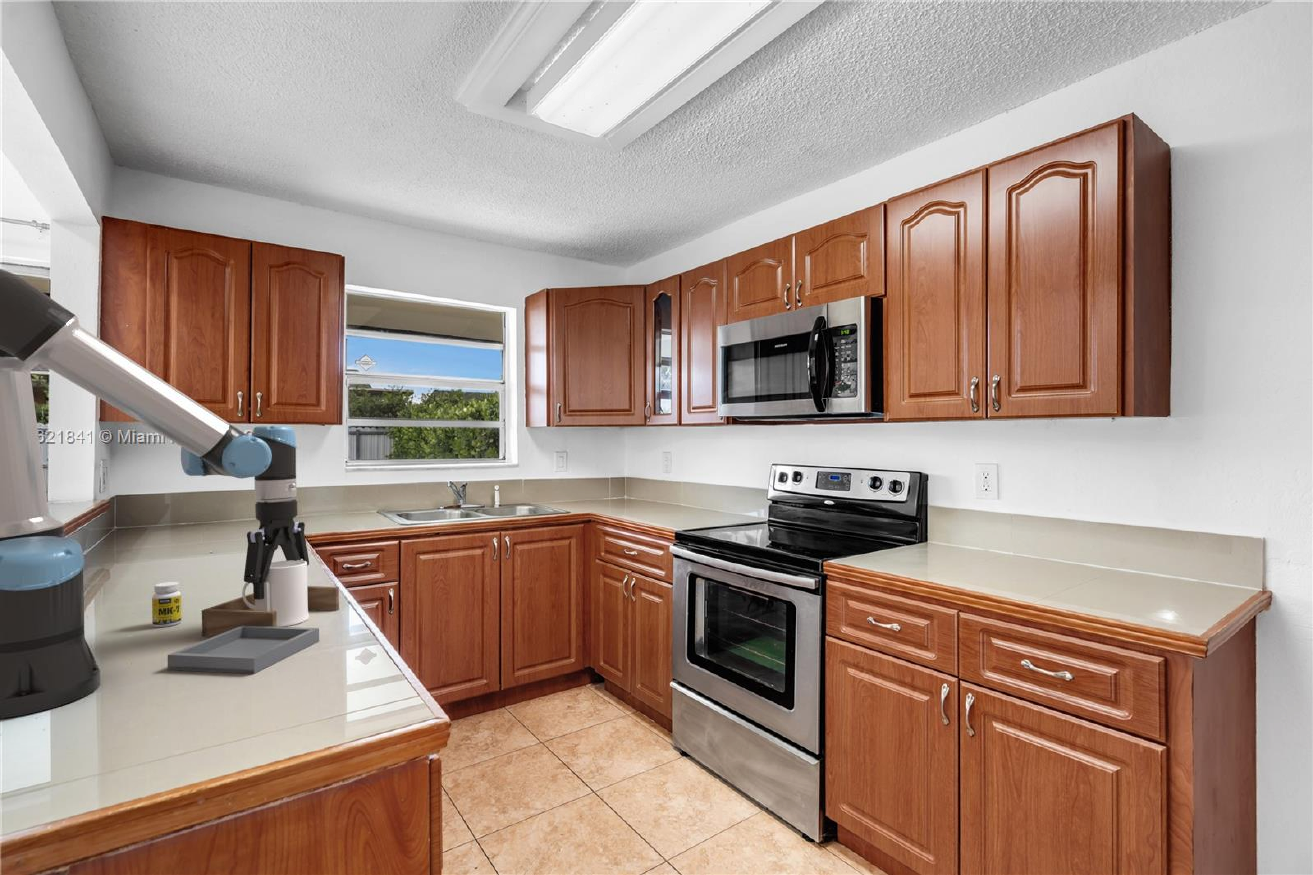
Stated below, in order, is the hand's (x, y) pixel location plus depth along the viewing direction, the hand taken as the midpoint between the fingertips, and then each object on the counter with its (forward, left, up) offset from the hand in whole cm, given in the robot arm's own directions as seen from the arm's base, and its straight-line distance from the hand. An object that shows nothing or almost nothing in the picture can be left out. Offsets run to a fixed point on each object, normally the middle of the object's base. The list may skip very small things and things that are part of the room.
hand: (279, 607), depth 133 cm
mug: (-1, 0, -3) cm, 3 cm away
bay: (0, 0, -3) cm, 3 cm away
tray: (-19, -9, -3) cm, 21 cm away
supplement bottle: (-4, +22, -3) cm, 23 cm away
